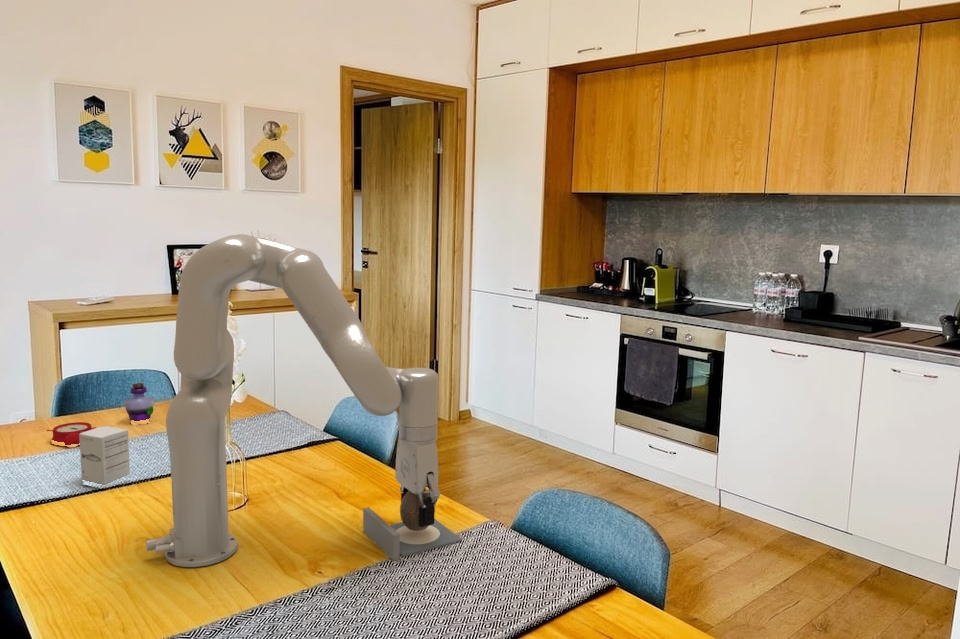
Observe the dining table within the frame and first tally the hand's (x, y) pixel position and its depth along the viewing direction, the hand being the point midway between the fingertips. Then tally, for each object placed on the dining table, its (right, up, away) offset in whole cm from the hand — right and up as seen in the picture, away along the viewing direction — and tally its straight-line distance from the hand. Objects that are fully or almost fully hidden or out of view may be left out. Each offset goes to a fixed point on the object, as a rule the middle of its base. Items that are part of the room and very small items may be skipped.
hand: (417, 517), depth 140 cm
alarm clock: (-98, +6, +52) cm, 111 cm away
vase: (0, -2, 0) cm, 2 cm away
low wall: (-7, -4, -4) cm, 9 cm away
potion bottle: (-89, +8, +71) cm, 114 cm away
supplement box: (-74, +1, +24) cm, 78 cm away
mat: (0, -4, +1) cm, 4 cm away
